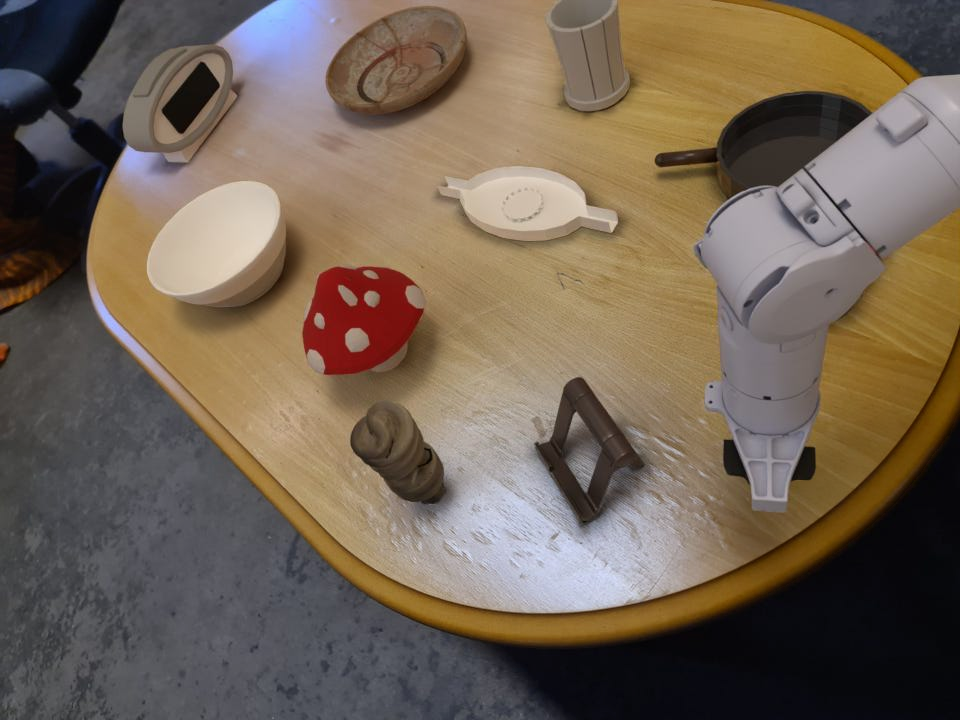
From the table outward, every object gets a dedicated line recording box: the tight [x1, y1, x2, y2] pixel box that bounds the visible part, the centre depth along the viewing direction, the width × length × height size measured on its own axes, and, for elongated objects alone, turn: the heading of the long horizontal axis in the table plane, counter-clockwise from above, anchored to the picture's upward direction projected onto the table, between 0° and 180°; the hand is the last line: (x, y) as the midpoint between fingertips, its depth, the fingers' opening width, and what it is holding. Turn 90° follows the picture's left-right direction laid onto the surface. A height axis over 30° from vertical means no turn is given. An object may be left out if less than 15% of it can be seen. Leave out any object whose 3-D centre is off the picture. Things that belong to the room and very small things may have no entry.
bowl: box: [146, 180, 287, 308], centre depth 92 cm, size 19×19×8 cm
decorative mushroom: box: [301, 263, 427, 376], centre depth 74 cm, size 14×14×15 cm
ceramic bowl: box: [324, 5, 468, 115], centre depth 108 cm, size 23×24×5 cm
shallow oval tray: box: [436, 165, 619, 242], centre depth 85 cm, size 10×25×2 cm, turn 58°
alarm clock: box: [122, 43, 238, 163], centre depth 116 cm, size 23×6×13 cm, turn 158°
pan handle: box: [654, 147, 725, 168], centre depth 79 cm, size 8×2×2 cm, turn 78°
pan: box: [716, 90, 873, 200], centre depth 75 cm, size 16×16×4 cm
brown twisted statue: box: [349, 399, 447, 505], centre depth 62 cm, size 6×6×15 cm
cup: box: [545, 0, 631, 112], centre depth 90 cm, size 10×9×12 cm
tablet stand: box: [533, 376, 645, 525], centre depth 61 cm, size 9×8×8 cm
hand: (766, 455), depth 53 cm, fingers closed on supplement box, 4 cm apart
